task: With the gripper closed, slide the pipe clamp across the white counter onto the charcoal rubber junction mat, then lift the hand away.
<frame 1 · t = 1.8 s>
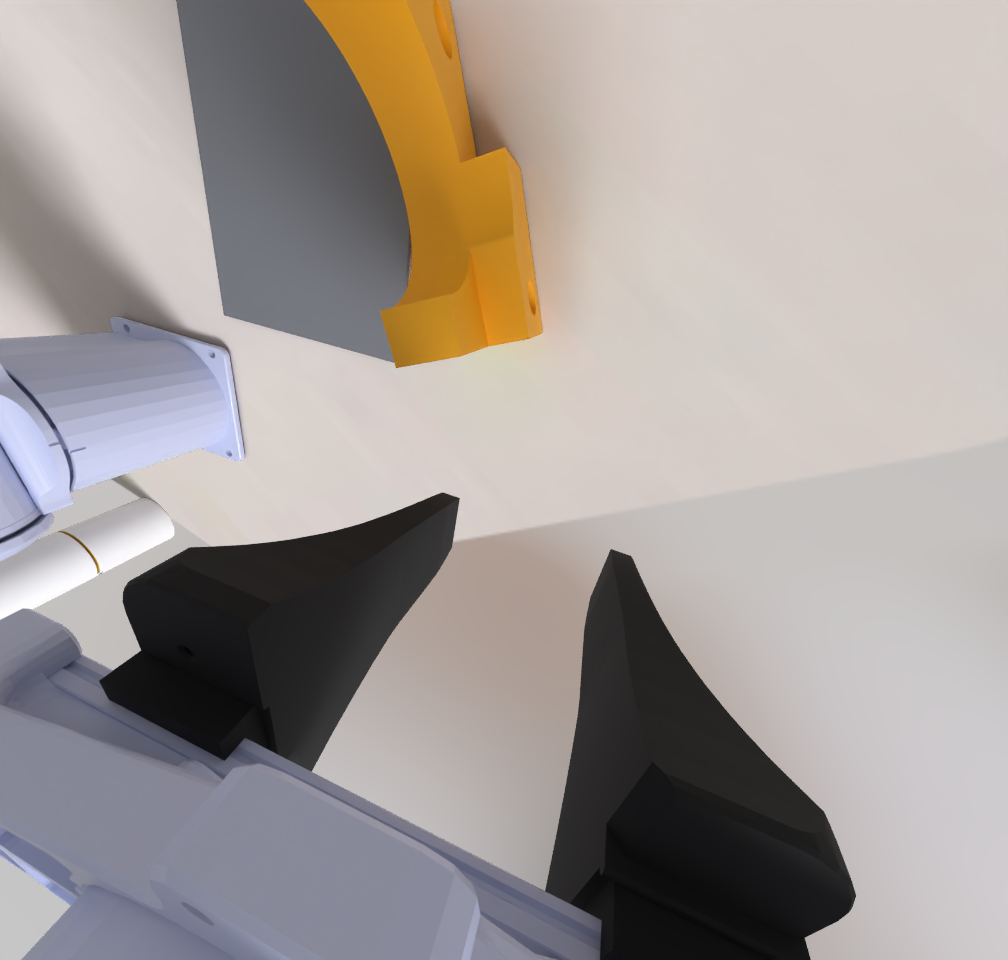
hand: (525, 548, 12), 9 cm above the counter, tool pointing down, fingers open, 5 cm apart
junction mat: (302, 165, 18), on the counter
pipe clamp: (475, 197, 17), on the counter, touching junction mat
tube: (157, 517, 34), on the counter
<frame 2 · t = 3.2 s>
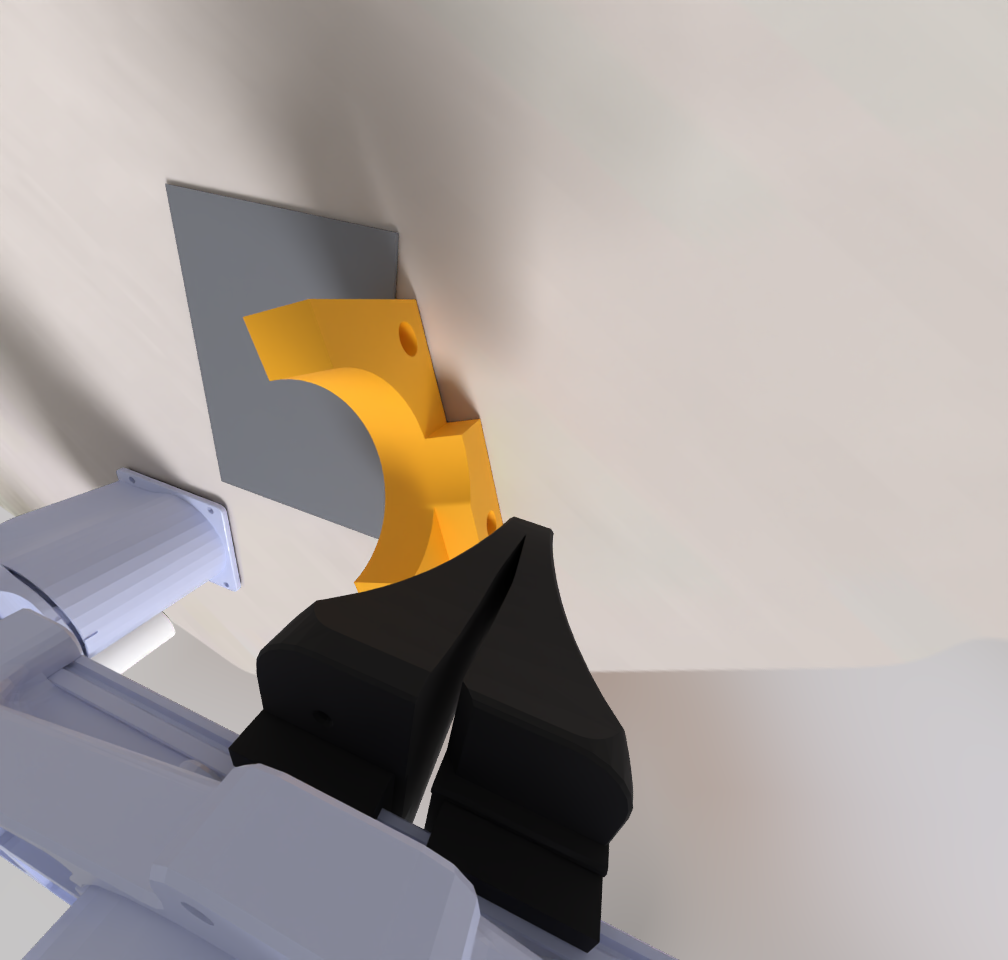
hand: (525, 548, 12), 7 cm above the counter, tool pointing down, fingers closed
junction mat: (290, 385, 20), on the counter
pipe clamp: (443, 431, 19), on the counter, touching junction mat
tube: (159, 618, 37), on the counter
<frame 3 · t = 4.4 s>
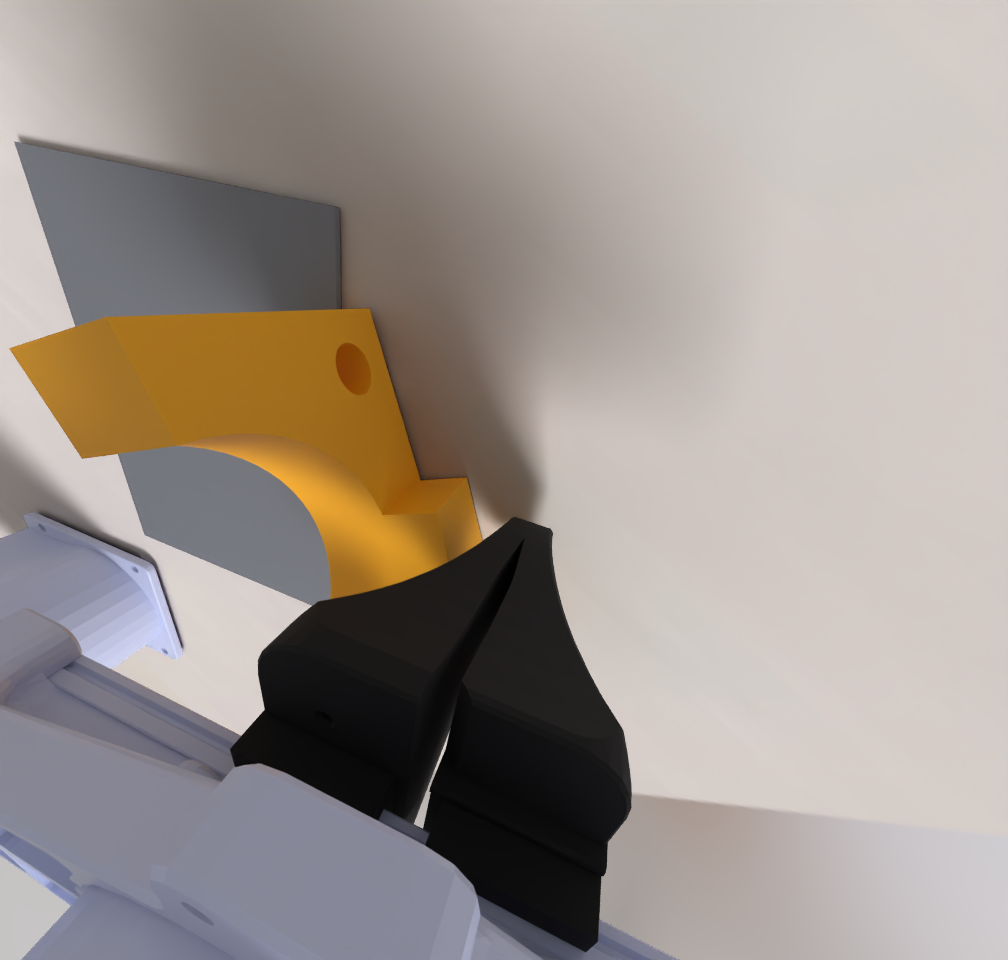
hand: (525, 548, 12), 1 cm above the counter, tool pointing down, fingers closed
junction mat: (213, 422, 15), on the counter
pipe clamp: (416, 490, 13), on the counter, touching gripper, junction mat
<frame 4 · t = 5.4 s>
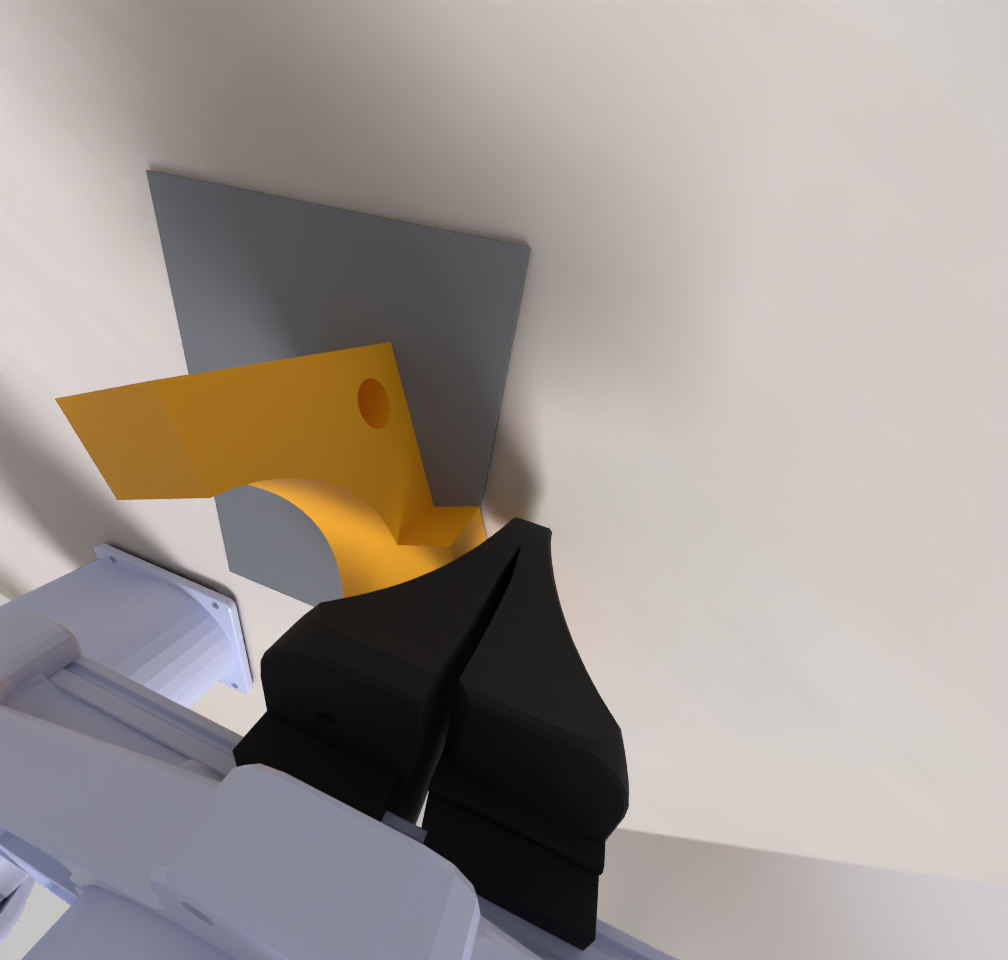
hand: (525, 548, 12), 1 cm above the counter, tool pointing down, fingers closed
junction mat: (331, 463, 14), on the counter
pipe clamp: (429, 515, 14), resting on junction mat, touching gripper
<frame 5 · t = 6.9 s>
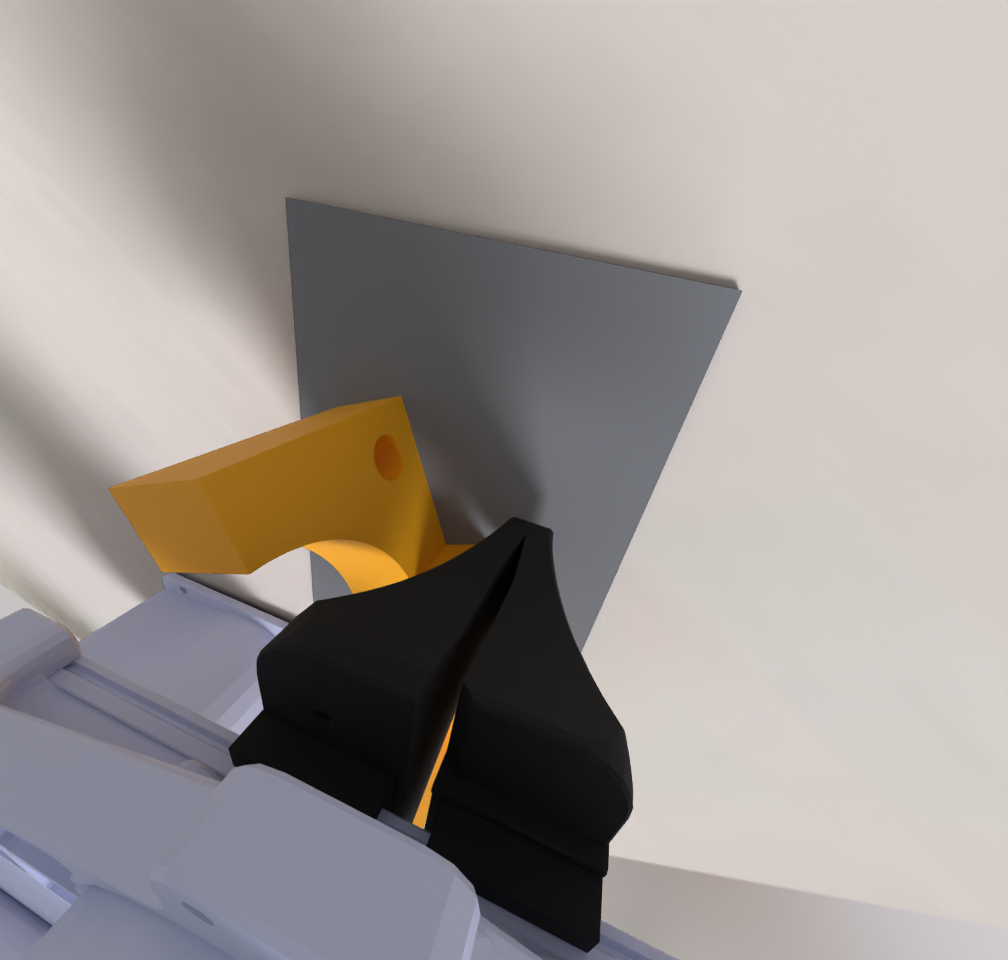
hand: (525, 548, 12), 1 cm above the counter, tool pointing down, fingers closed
junction mat: (451, 503, 13), on the counter
pipe clamp: (442, 551, 14), resting on junction mat
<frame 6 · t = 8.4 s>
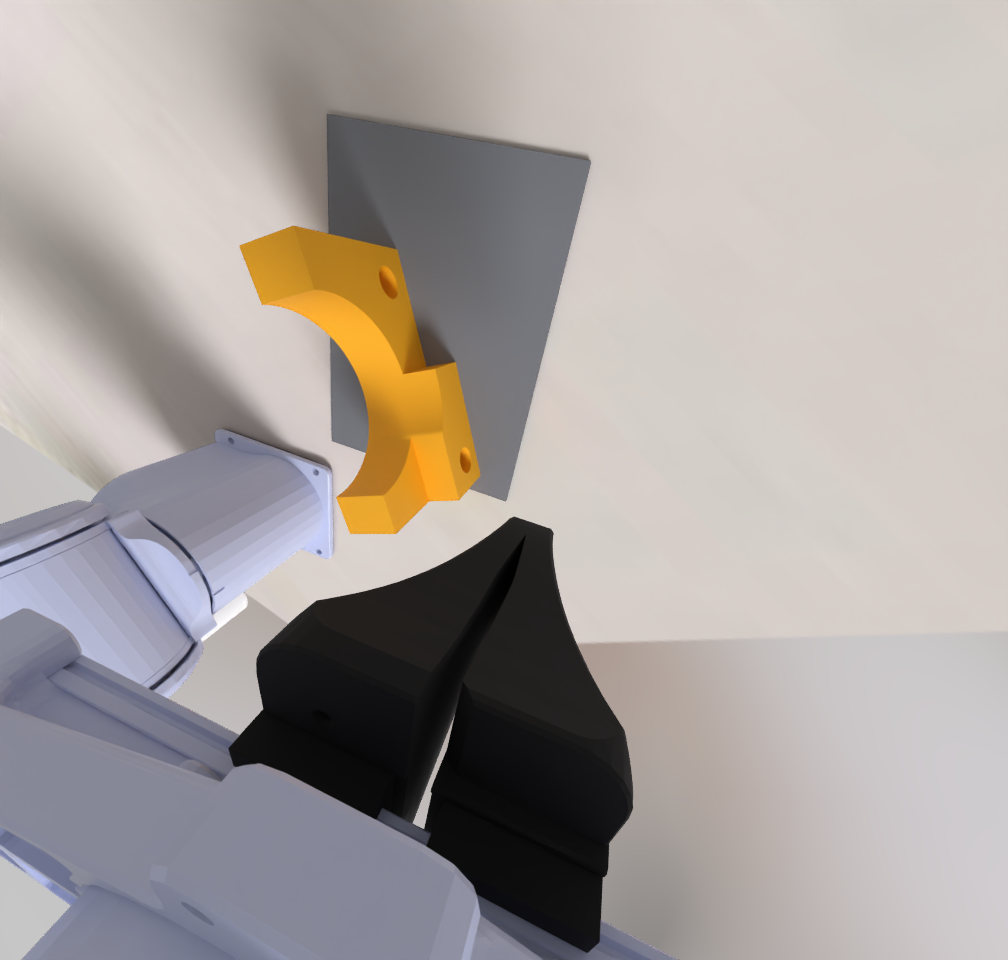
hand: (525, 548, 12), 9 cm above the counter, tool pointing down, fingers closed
junction mat: (431, 335, 20), on the counter
pipe clamp: (423, 375, 21), resting on junction mat
tube: (230, 590, 36), on the counter
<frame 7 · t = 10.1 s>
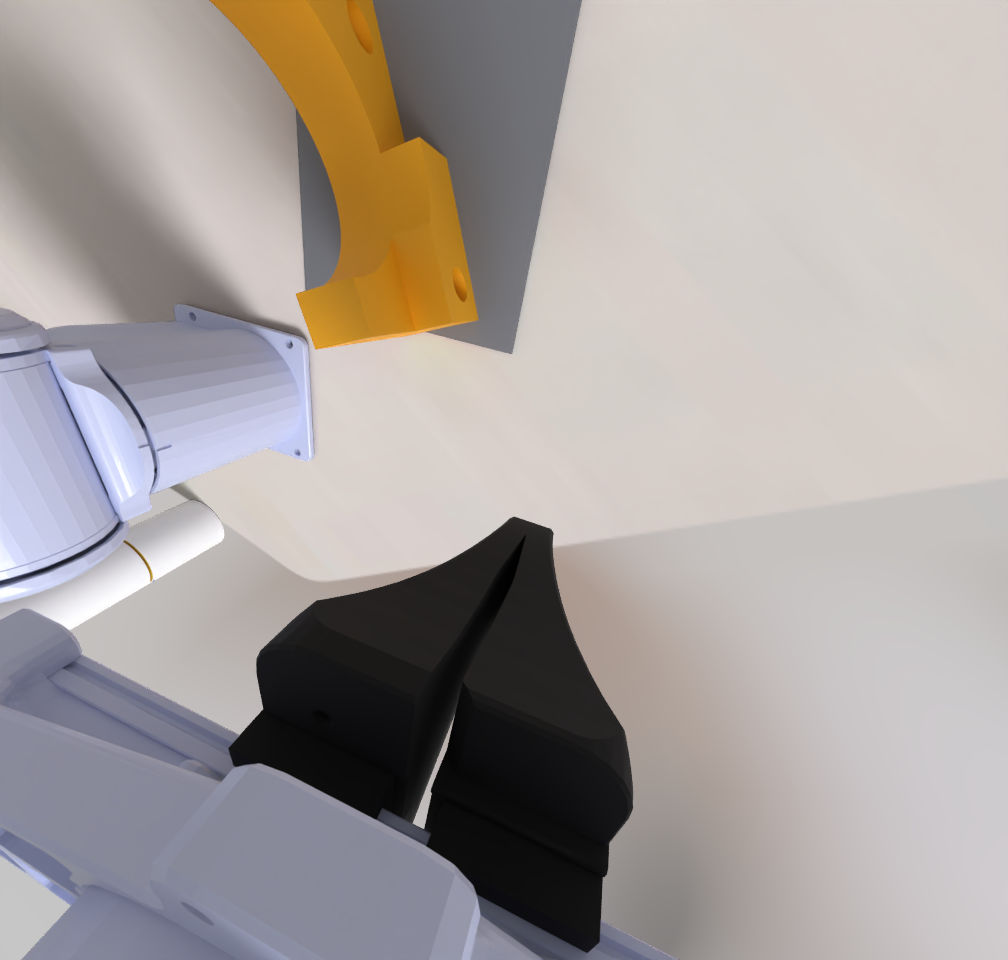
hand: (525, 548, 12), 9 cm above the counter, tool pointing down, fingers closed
junction mat: (417, 128, 16), on the counter
pipe clamp: (409, 188, 17), resting on junction mat
tube: (205, 521, 32), on the counter
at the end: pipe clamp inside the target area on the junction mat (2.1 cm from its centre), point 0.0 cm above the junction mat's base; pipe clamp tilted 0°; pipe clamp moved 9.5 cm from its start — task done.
